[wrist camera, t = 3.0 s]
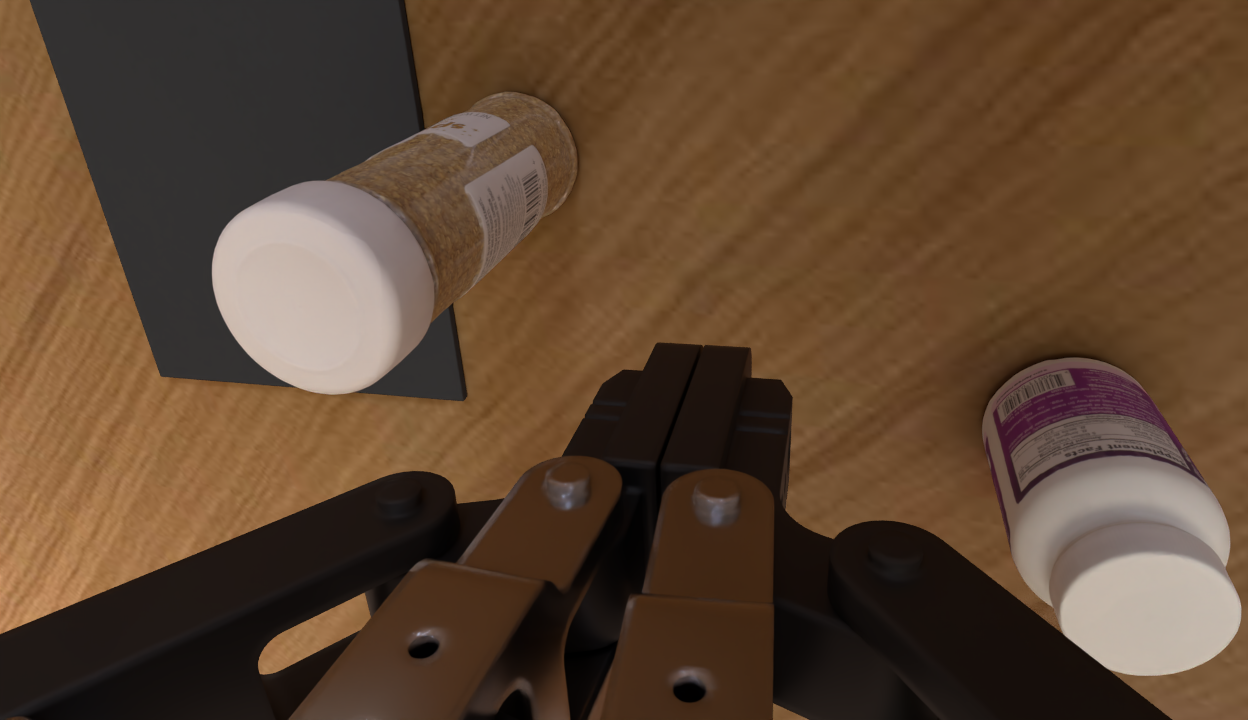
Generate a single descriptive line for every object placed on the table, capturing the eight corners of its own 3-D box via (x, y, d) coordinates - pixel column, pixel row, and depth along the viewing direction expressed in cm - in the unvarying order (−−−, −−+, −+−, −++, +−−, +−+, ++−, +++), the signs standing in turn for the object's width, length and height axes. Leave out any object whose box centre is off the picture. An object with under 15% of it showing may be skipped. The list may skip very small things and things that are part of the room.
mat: (-7, -131, 29) (-17, -132, 29) (377, -169, 25) (370, -171, 25) (166, 373, 38) (160, 376, 38) (467, 396, 34) (463, 401, 34)
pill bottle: (1132, 491, 29) (1241, 715, 21) (970, 477, 30) (1013, 682, 22) (1169, 355, 27) (1310, 547, 18) (992, 345, 28) (1050, 520, 20)
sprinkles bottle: (493, 62, 28) (234, 158, 16) (605, 140, 28) (429, 289, 16) (439, 173, 30) (179, 325, 19) (544, 243, 30) (351, 438, 19)
